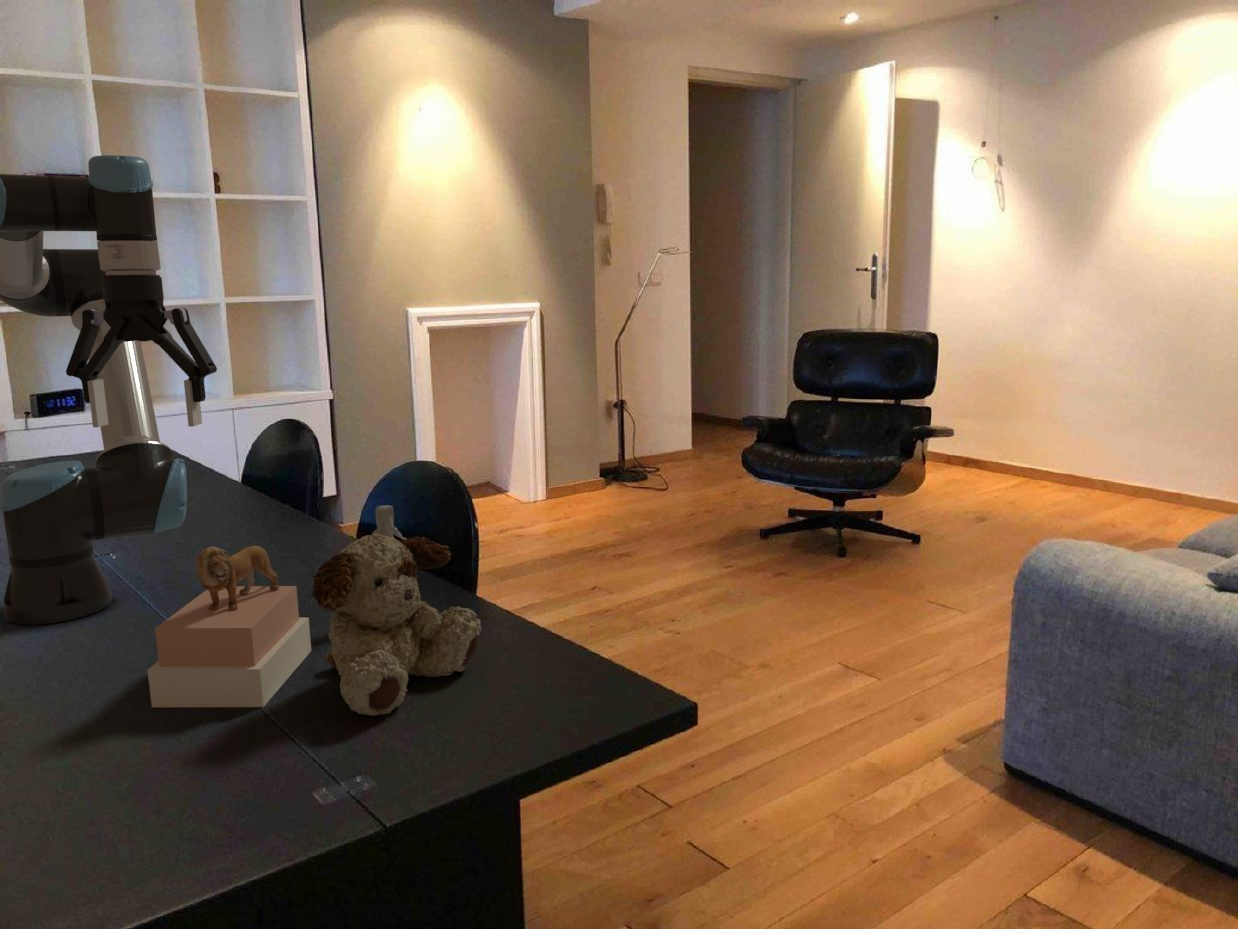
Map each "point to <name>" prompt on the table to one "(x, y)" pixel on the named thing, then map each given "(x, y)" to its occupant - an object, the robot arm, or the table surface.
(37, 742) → the table surface
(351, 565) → the dog
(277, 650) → the stacked block pedestal
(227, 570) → the lion figurine
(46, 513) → the robot arm
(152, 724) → the table surface
